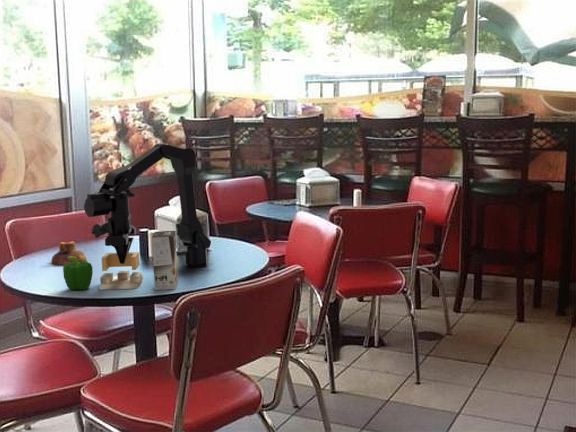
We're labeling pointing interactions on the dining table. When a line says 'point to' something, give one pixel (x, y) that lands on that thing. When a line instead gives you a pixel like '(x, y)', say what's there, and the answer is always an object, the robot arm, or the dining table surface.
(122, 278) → the cream flat studded block
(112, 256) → the orange bridge block
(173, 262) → the coffee box
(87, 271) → the bell pepper
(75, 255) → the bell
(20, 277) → the dining table surface
